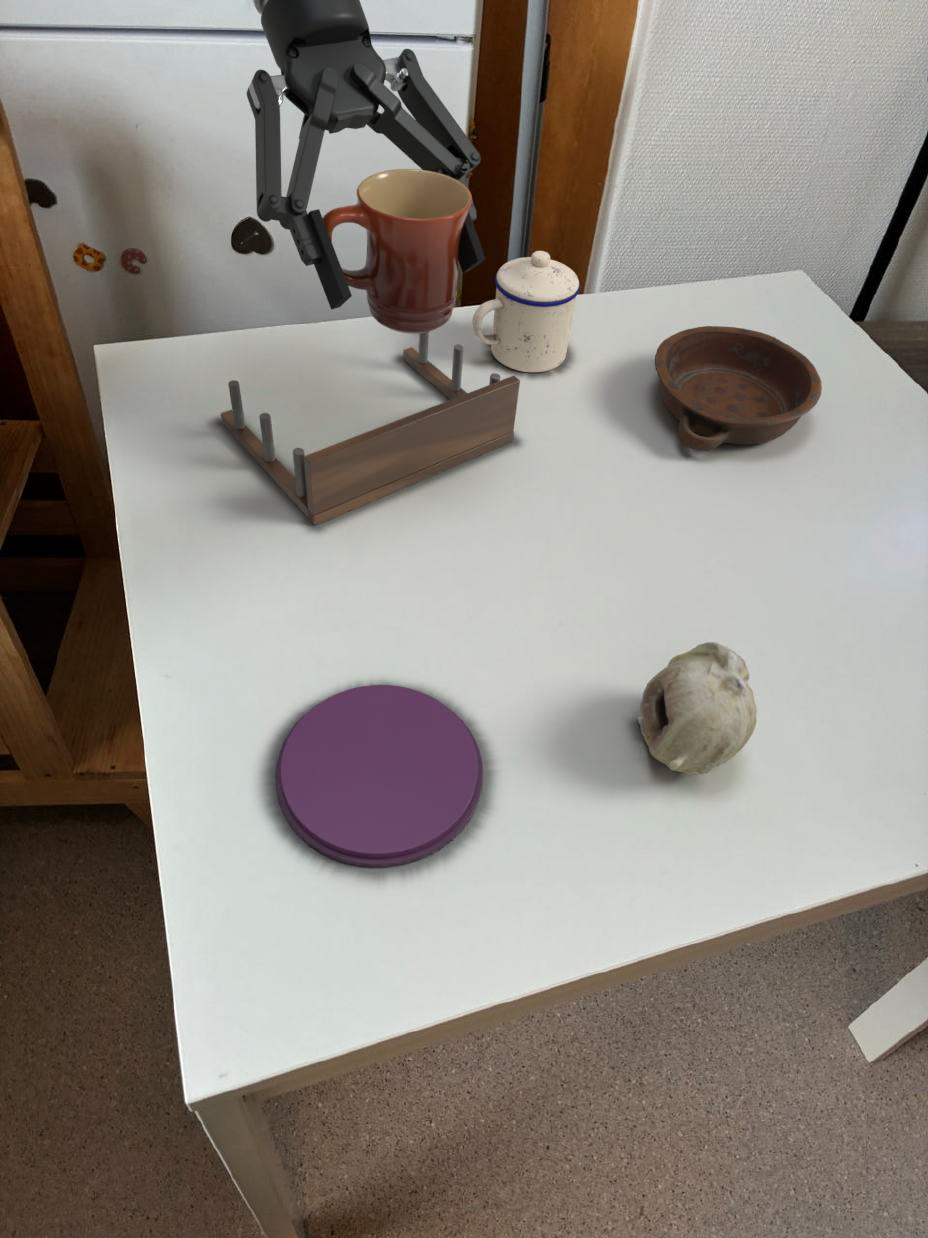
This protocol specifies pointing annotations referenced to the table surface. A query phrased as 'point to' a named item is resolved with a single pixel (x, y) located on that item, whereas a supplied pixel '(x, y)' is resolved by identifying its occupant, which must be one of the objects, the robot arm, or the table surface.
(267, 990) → the table surface
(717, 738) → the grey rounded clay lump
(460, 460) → the dish rack
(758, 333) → the dish
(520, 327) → the teacup with lid
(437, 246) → the mug
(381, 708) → the plum lid
